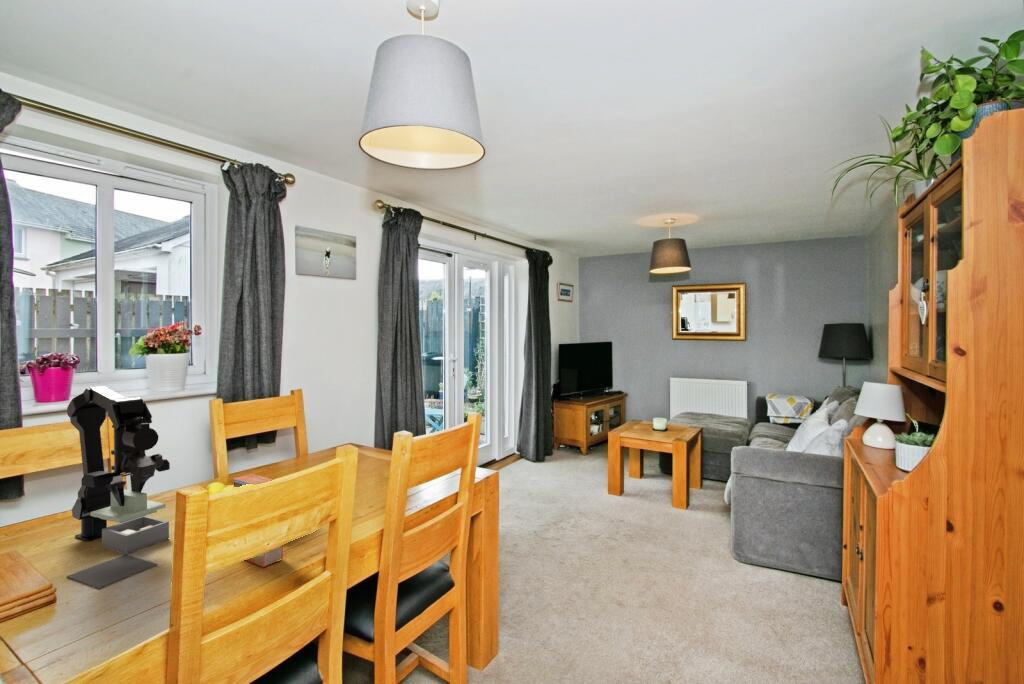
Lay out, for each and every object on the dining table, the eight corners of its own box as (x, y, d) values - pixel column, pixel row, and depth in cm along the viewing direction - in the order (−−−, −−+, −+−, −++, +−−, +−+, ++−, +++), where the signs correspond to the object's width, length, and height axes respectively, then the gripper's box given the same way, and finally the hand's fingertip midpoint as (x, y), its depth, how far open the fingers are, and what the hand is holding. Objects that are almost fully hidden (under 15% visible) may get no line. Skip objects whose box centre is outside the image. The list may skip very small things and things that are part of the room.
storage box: (102, 546, 139) (101, 528, 138) (144, 532, 149) (144, 515, 148) (126, 554, 134) (126, 535, 134) (168, 538, 144) (168, 521, 144)
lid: (90, 519, 131) (90, 496, 131) (137, 505, 142) (137, 484, 142) (118, 526, 127) (118, 502, 127) (165, 510, 138) (165, 489, 137)
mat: (66, 577, 122) (66, 576, 122) (125, 555, 134) (125, 554, 134) (98, 589, 116) (98, 587, 116) (157, 565, 128) (157, 563, 128)
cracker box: (284, 559, 133) (284, 481, 132) (262, 569, 128) (262, 487, 127) (254, 546, 140) (254, 472, 140) (232, 554, 135) (232, 477, 134)
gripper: (107, 456, 122) (108, 520, 123) (182, 441, 140) (183, 497, 140) (79, 452, 126) (80, 514, 127) (156, 438, 144) (156, 492, 144)
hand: (128, 504), depth 134 cm, fingers closed on lid, 3 cm apart
